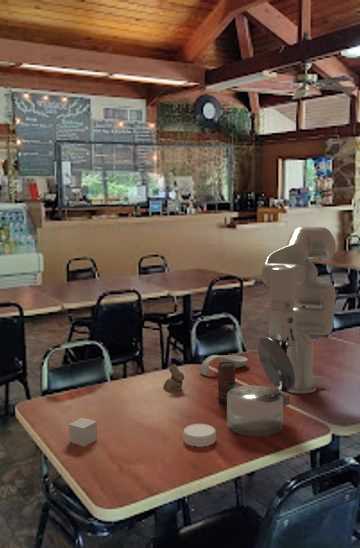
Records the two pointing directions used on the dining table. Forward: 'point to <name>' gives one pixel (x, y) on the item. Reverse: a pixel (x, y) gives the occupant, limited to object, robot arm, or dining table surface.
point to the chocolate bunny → (174, 379)
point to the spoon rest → (237, 361)
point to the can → (225, 379)
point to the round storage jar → (255, 409)
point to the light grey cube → (83, 431)
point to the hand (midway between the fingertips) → (281, 360)
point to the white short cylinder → (199, 435)
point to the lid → (276, 364)
